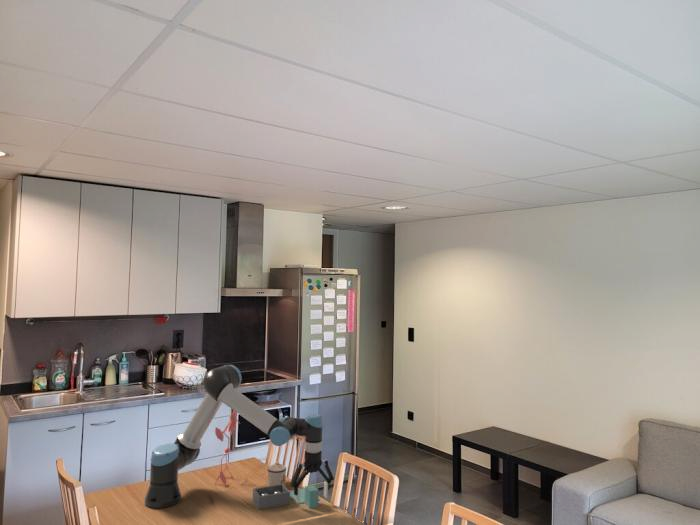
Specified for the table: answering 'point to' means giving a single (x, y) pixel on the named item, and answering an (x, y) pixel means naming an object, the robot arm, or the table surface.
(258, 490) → the tub
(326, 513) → the table surface
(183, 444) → the robot arm
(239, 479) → the table surface
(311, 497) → the lid
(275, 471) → the teacup with lid
